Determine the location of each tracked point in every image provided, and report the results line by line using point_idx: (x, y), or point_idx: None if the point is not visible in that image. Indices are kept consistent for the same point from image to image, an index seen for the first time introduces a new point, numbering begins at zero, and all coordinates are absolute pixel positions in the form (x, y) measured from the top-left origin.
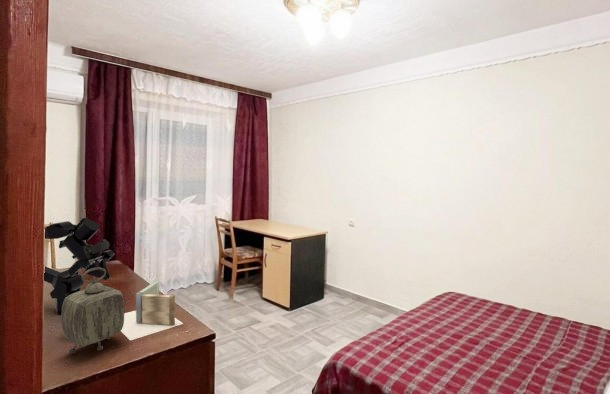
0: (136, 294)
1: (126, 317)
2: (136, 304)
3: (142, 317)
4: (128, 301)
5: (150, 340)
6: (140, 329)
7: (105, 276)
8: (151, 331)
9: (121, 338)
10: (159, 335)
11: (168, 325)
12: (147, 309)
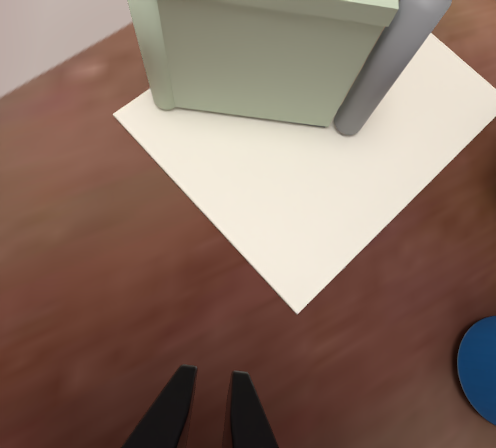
0: (445, 11)
1: (290, 209)
2: (404, 67)
3: None
4: (13, 313)
5: (485, 38)
6: (414, 96)
7: (260, 403)
8: (425, 49)
9: (490, 146)
10: (442, 19)
11: None
12: None
